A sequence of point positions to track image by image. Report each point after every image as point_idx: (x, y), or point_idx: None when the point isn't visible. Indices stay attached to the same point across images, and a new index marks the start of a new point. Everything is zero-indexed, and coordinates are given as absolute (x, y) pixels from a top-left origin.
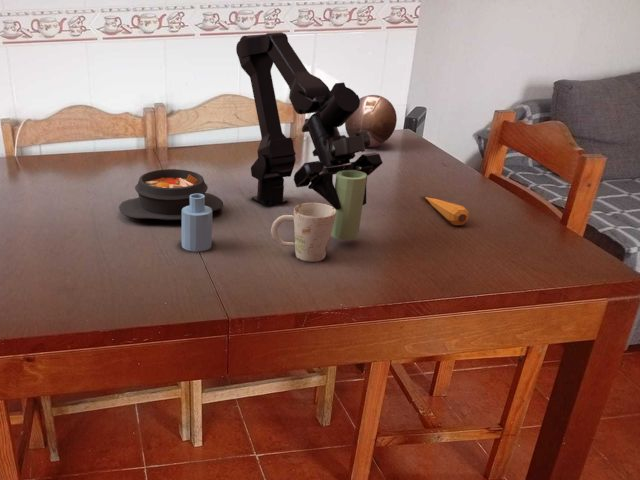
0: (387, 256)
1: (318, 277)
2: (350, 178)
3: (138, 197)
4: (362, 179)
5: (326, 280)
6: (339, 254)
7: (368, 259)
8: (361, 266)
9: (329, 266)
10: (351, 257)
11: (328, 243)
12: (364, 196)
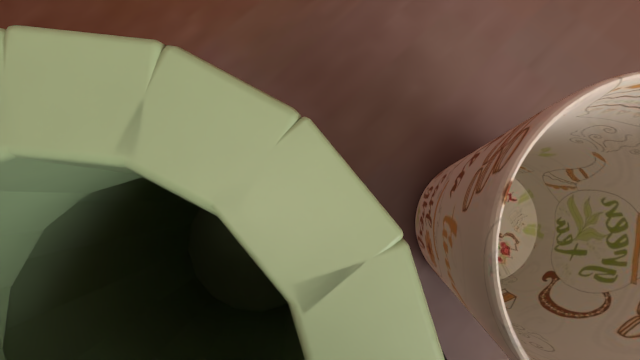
0: (205, 27)
1: (590, 54)
2: (339, 202)
3: None
4: (78, 35)
5: (583, 17)
6: (359, 163)
7: (296, 54)
8: (374, 24)
9: (482, 101)
10: (340, 110)
11: (461, 159)
12: None
